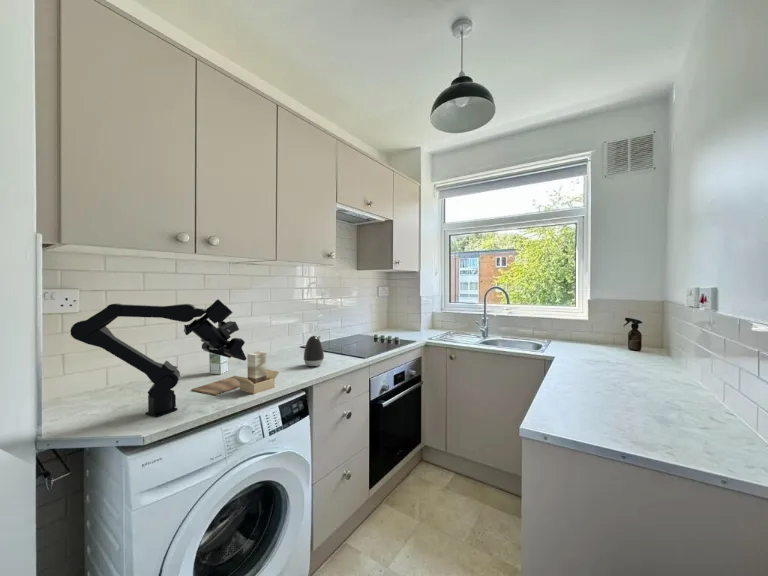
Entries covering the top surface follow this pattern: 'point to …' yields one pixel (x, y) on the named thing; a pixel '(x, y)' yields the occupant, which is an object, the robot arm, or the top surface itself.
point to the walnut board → (219, 386)
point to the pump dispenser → (313, 352)
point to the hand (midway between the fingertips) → (238, 358)
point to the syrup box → (217, 364)
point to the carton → (258, 387)
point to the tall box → (257, 367)
